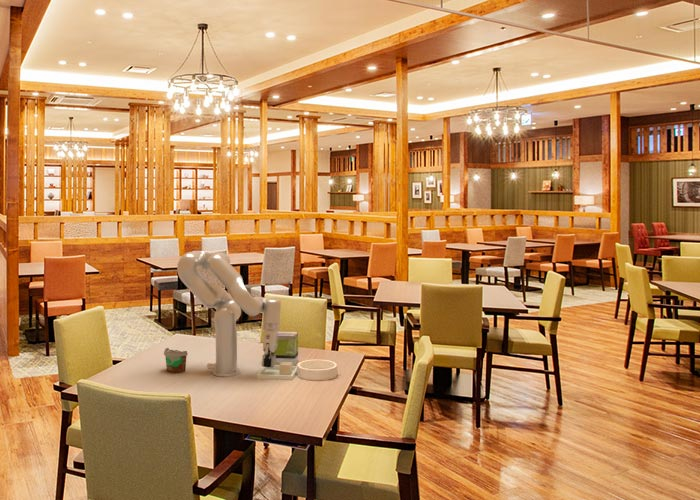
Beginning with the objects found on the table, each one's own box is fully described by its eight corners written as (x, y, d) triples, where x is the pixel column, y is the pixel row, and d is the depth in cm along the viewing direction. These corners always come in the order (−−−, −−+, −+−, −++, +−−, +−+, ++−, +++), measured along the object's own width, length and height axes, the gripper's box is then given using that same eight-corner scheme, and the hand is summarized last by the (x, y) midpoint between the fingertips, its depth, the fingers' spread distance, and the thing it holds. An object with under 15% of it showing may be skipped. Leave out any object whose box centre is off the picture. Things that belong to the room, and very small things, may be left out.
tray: (256, 379, 271) (256, 374, 271) (265, 369, 287) (265, 365, 287) (292, 380, 270) (292, 376, 270) (299, 370, 286) (299, 366, 285)
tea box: (298, 360, 303) (298, 331, 302) (294, 366, 293) (294, 336, 292) (268, 359, 304) (268, 330, 303) (263, 365, 294) (263, 334, 293)
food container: (158, 371, 282) (157, 350, 281) (167, 368, 287) (167, 347, 286) (178, 375, 276) (178, 353, 275) (187, 372, 281) (187, 350, 280)
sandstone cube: (279, 375, 276) (279, 364, 275) (281, 372, 281) (281, 362, 280) (290, 376, 275) (290, 365, 275) (292, 373, 280) (292, 362, 280)
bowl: (293, 380, 271) (293, 369, 270) (301, 368, 288) (301, 358, 288) (334, 381, 269) (334, 371, 268) (339, 370, 287) (339, 360, 286)
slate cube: (261, 366, 276) (262, 355, 276) (264, 363, 281) (265, 353, 281) (272, 367, 276) (273, 356, 275) (275, 364, 281) (276, 354, 280)
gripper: (274, 330, 268) (272, 371, 270) (283, 322, 285) (280, 361, 287) (258, 329, 269) (255, 369, 270) (267, 321, 286) (265, 359, 287)
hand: (268, 364), depth 278 cm, fingers closed on slate cube, 5 cm apart
